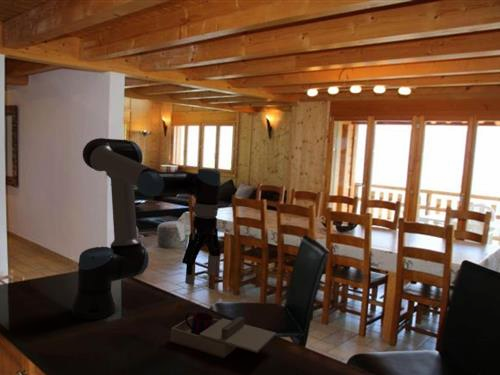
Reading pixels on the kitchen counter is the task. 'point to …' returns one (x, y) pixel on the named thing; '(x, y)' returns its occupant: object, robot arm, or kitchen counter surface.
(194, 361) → the kitchen counter surface
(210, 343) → the beige open box
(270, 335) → the lid
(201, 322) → the mug
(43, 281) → the kitchen counter surface
